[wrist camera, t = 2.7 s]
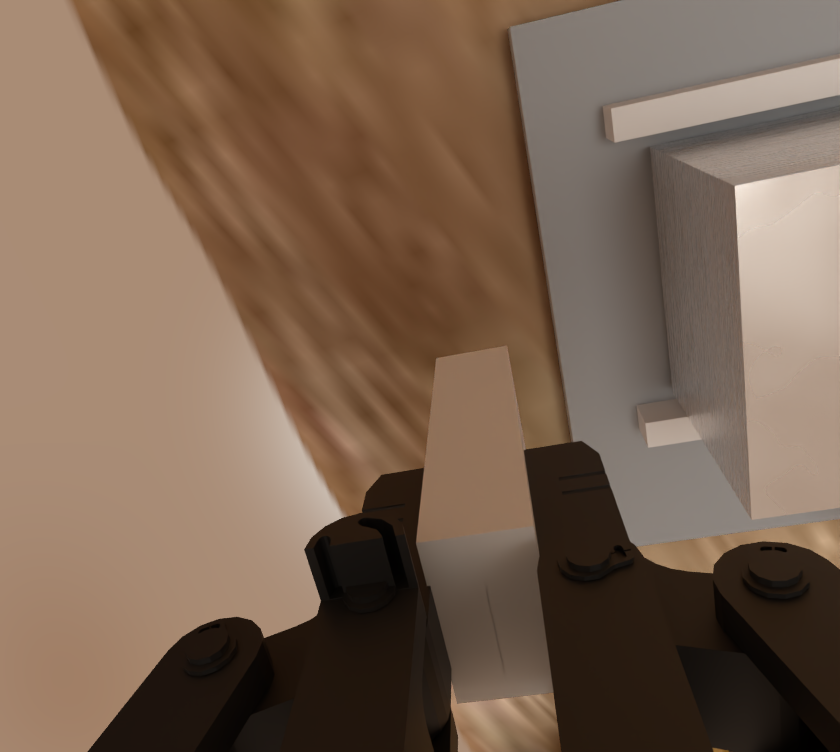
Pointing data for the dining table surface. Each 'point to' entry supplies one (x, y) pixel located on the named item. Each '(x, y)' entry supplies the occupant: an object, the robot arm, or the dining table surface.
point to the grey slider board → (648, 215)
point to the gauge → (757, 303)
